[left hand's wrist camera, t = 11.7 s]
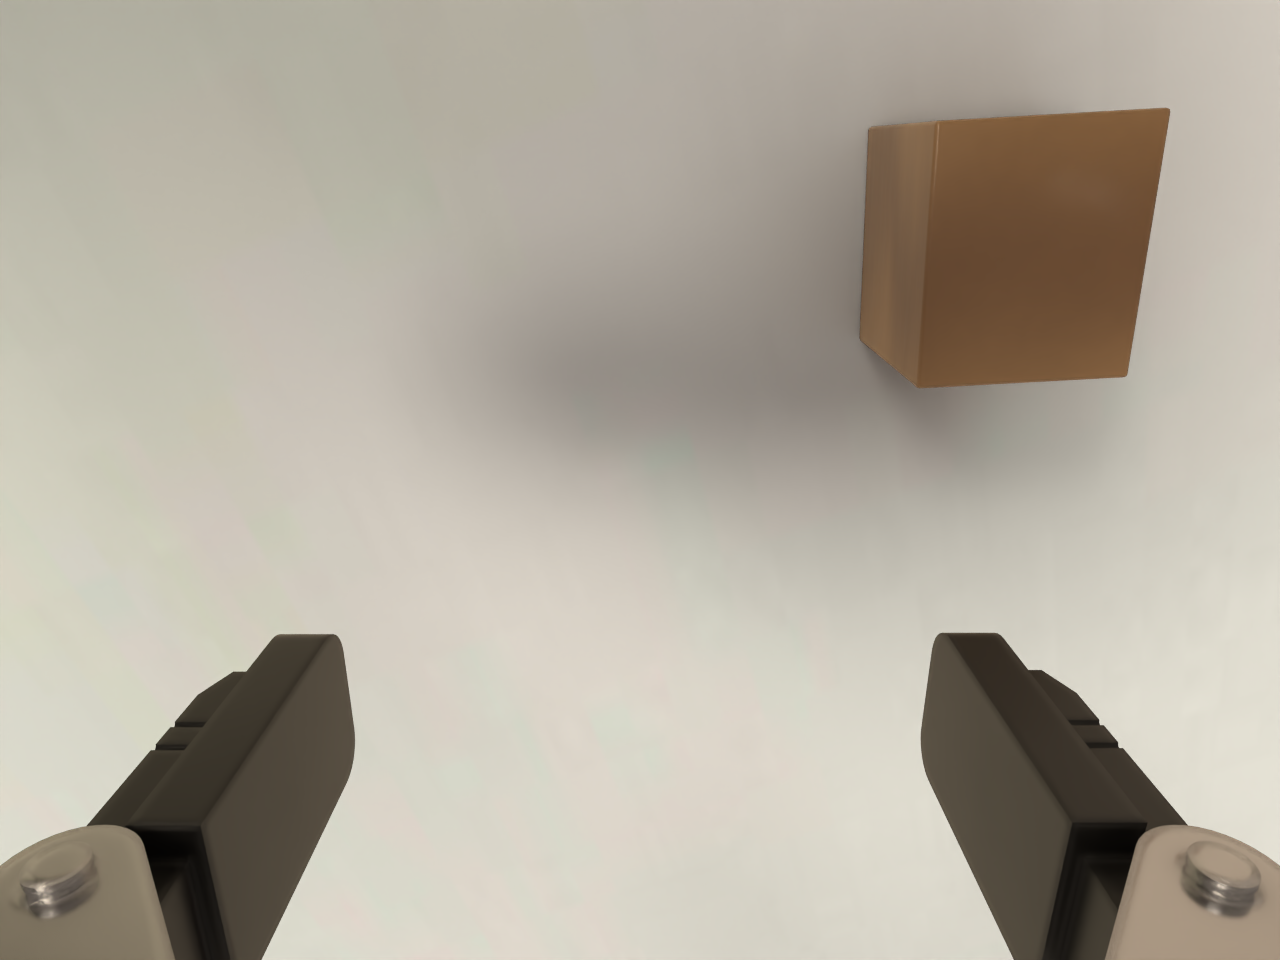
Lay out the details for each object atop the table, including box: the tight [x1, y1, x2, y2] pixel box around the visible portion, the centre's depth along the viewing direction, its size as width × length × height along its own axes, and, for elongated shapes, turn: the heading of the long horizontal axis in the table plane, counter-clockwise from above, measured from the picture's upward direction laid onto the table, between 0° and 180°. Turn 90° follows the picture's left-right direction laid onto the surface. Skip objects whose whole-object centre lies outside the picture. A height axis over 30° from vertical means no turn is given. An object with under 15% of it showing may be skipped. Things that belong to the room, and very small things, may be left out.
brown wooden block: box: [860, 108, 1170, 388], centre depth 19 cm, size 5×4×5 cm
